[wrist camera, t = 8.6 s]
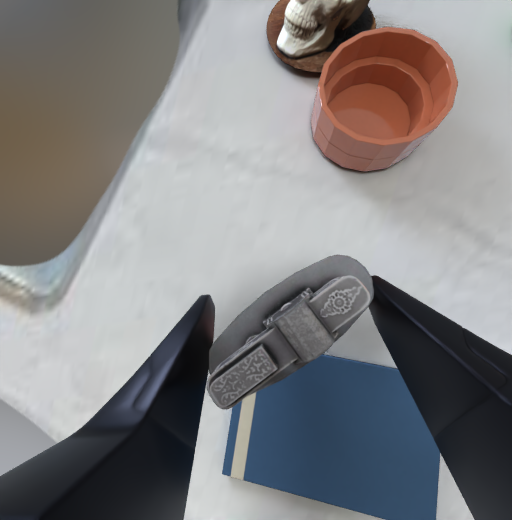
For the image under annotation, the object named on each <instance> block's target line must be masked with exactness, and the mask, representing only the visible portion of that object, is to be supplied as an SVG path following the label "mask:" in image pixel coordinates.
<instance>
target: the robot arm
mask: <svg viewBox="0 0 512 520" xmlns="http://www.w3.org/2000/svg"><path fill="white" fill-rule="evenodd" d="M371 277H372V281H373V282H372V284H373V289H374V295H373V299H372V301H371V303H370V305H369V309H370V312H371V315H372V317H373V320H374V322H375V325H376V327H377V329H378V331H379V333H380V335H381V337H382V339H383V341H384V343H385V345H386V347H387V348H388V350H389V352H390V354H391V356H392V358H393V360H394V362H395V364H396V366H397V368H398V370H399V372H400V374H401V376H402V378H403V380H404V382H405V384H406V386H407V388H408V390H409V392H410V394H411V396H412V397H413V399H414V401H415V403H416V405H417V407H418V409H419V411H420V413H421V415H422V417H423V419H424V421H425V423H426V425H427V427H428V429H429V431H430V433H431V435H432V436H433V439H434V441H435V443H436V445H437V447H438V449H439V451H440V453H441V455H442V457H443V459H444V461H445V462H446V464H447V466H448V468H449V470H450V472H451V474H452V476H453V478H454V480H455V482H456V484H457V486H458V488H459V490H460V492H461V494H462V496H463V498H464V500H465V502H466V504H467V506H468V508H469V510H470V512H471V513H472V515H473V517H474V519H475V520H512V355H511V354H509V353H507V352H505V351H503V350H501V349H499V348H498V347H496V346H494V345H492V344H491V343H489V342H487V341H485V340H484V339H482V338H480V337H479V336H477V335H475V334H473V333H472V332H470V331H468V330H467V329H465V328H462V326H460V325H458V324H457V323H455V322H453V321H452V320H450V319H448V318H447V317H445V316H443V315H442V314H440V313H438V312H437V311H435V310H433V309H432V308H430V307H428V306H427V305H425V304H423V303H422V302H420V301H418V300H417V299H415V298H413V297H412V296H410V295H408V294H407V293H405V292H403V291H402V290H400V289H398V288H397V287H395V286H394V285H392V284H390V283H389V282H387V281H385V280H384V279H382V278H380V277H379V276H376V275H374V276H371ZM214 320H215V306H214V303H213V301H212V298H211V296H210V295H201V296H200V297H199V298H198V300H197V301H196V302H195V303H194V304H193V305H192V307H191V308H190V309H189V310H188V311H187V313H186V314H185V315H184V316H183V317H182V319H181V320H180V321H179V322H178V323H177V324H176V326H175V327H174V328H173V329H172V330H171V332H170V333H169V334H168V335H167V336H166V337H165V339H164V340H163V341H162V342H161V343H160V345H159V346H158V347H157V348H156V349H155V350H154V352H153V353H152V354H151V357H148V359H147V360H146V361H145V362H144V363H143V365H142V366H141V367H140V368H139V369H138V370H137V371H136V373H135V374H134V375H133V376H132V377H131V378H130V379H129V380H128V381H127V382H126V383H125V384H124V385H123V387H122V388H121V389H120V390H119V391H118V392H117V393H116V394H115V395H114V396H113V397H112V398H111V399H110V400H109V401H108V402H107V403H106V404H105V405H104V406H103V407H102V408H101V409H100V410H99V411H98V412H97V413H96V414H95V415H94V416H93V417H92V418H91V419H90V420H89V421H88V422H87V423H86V424H85V425H84V426H83V427H82V428H80V429H79V430H78V431H76V432H75V433H74V434H72V435H71V436H69V437H68V438H66V439H64V440H63V441H61V442H59V443H57V444H56V445H54V446H52V447H50V448H49V449H47V450H45V451H43V452H42V453H40V454H38V455H37V456H35V457H33V458H31V459H30V460H28V461H26V462H24V463H23V464H21V465H19V466H17V467H16V468H14V469H12V470H10V471H9V472H7V473H5V474H3V475H2V476H0V520H183V519H184V513H185V507H186V501H187V495H188V489H189V483H190V478H191V472H192V466H193V460H194V454H195V447H196V441H197V435H198V429H199V423H200V417H201V411H202V405H203V399H204V393H205V387H206V381H207V375H208V369H209V350H210V348H211V347H212V345H213V338H214Z"/></svg>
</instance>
